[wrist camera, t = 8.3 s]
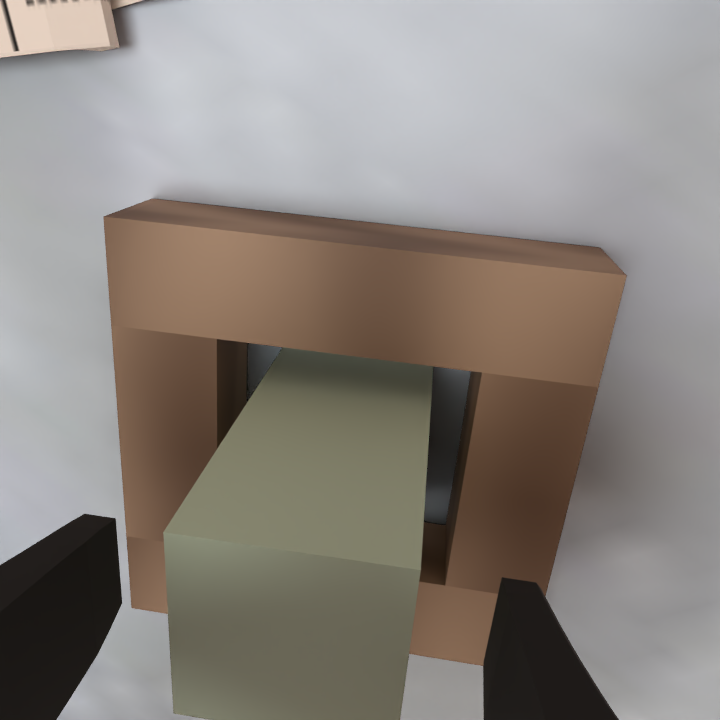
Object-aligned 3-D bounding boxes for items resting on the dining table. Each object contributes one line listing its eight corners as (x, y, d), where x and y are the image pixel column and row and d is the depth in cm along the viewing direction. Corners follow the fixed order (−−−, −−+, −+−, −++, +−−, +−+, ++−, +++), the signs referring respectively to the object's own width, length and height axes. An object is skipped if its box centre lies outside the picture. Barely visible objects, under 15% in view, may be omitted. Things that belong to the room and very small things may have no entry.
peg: (280, 471, 19) (173, 712, 12) (284, 345, 17) (163, 532, 10) (417, 490, 19) (395, 751, 11) (433, 362, 17) (420, 570, 10)
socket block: (166, 550, 21) (131, 608, 18) (152, 199, 16) (103, 216, 14) (517, 604, 20) (525, 673, 17) (600, 247, 15) (626, 275, 13)
